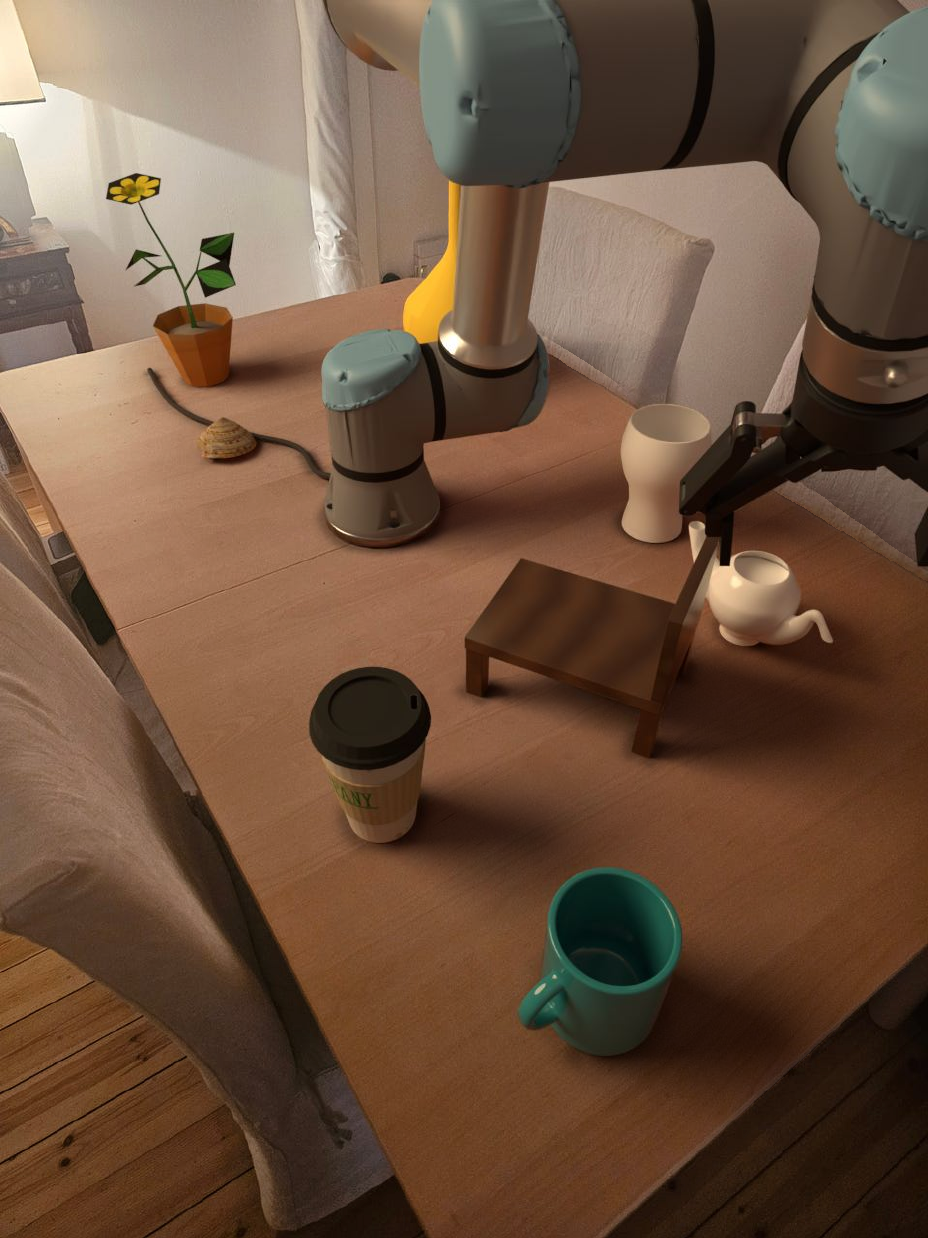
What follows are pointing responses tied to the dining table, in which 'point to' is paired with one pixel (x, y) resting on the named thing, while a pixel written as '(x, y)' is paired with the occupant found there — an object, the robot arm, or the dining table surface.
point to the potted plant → (191, 329)
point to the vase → (435, 284)
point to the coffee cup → (373, 748)
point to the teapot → (756, 598)
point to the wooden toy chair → (592, 635)
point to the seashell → (225, 440)
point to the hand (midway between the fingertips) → (820, 550)
